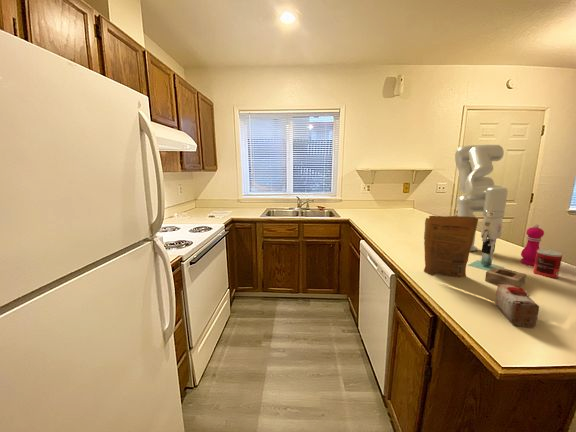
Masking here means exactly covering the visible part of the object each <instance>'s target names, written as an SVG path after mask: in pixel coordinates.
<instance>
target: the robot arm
mask: <svg viewBox="0 0 576 432" xmlns="http://www.w3.org/2000/svg"><path fill="white" fill-rule="evenodd" d="M504 153H505V151H504V149H503V146H501V145H500V144H475V145H474V144H472V145H463V146H460V147H458V148H457V149H456V150H455V154H454V162H455V165H456V167H457V170H458V184H459V187H458V188H459V190H460V192H461V193H463V194H465V195H461V196H459V197H458V198H457V200H456V206H457V212H456V213H457V215H456V216H463V217H475V218H477V217H476V215H475V213H482V217H483V221H482V222H483V223H482V227H481V231H480V238H482V239H481V241H482V243H481V245H482V247H481V254H482V253H486V254H490V251H491V246H490V245H491V240H495V245H494V251H495V249H496V243H497V239H499V238H501V237H502V232H503V231H502V230H503V219H504V217H505V212H506V205H507V197H508V192H509V191H508V188H506V187H502V186H501V185H495V182H494V179H493V178H492V177H489V176H488V175H490V174H491V173H492V172H493V171H494V165H493V162H499V161H501V160H502V159H503V157H504V156H505V155H504ZM476 232H477V230H476V231H475V235H474V239H473V243H472V246H471V249H470V251H469V252H476V251H477V250H478V247H476V245H475V241H476ZM487 240H489V242H488V241H487Z"/></svg>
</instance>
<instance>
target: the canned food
mask: <svg viewBox="0 0 576 432" xmlns="http://www.w3.org/2000/svg"><path fill="white" fill-rule="evenodd" d="M562 259H563V253H561V252H560V251H556V250H552V249H544V248H542V249H541V248H539V250H537V253H536V259H535V264H534V266H533V271H532V272H533V274H534V275H537V276H542V277H546V278H549V279H554V280H556V279H558V277H559V273H560V268H561V264H562Z"/></svg>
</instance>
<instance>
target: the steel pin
mask: <svg viewBox="0 0 576 432" xmlns="http://www.w3.org/2000/svg"><path fill="white" fill-rule="evenodd" d="M487 241H488V242H489V240H487ZM494 245H495V246H496V243H495V240H491V245H490V246H491V251H490V254H486V253H482V252H481V259H480V261H481V264H482V265H486V266H491V265H492V264H493V258H494V252H495V250H494Z"/></svg>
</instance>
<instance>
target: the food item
mask: <svg viewBox="0 0 576 432" xmlns="http://www.w3.org/2000/svg"><path fill="white" fill-rule="evenodd" d="M524 289H525V288H524ZM524 289H523V288H522V287H520V288H517V287H515V286H512V285H508V284H502V285H501V284H498V285H497V287H496V292H495V293H496V294H495V296H496V297H495V305H496V306H497V307H498V309H500V311H501V312H502V313H503V315H505V317H506V318H507V319H508V320H509V321H510V323H511V324H512V326H517V327H523V328H529V329H535V328H536V327H537V321H538V317H539V316H538V315H539V311H540V310H539V309H540V306H539V305H538V304H537V303H536V302H535V301H534V300H533V299H532V298H531V295H530V293H528V292H527V291H528V289H526V290H524Z"/></svg>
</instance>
